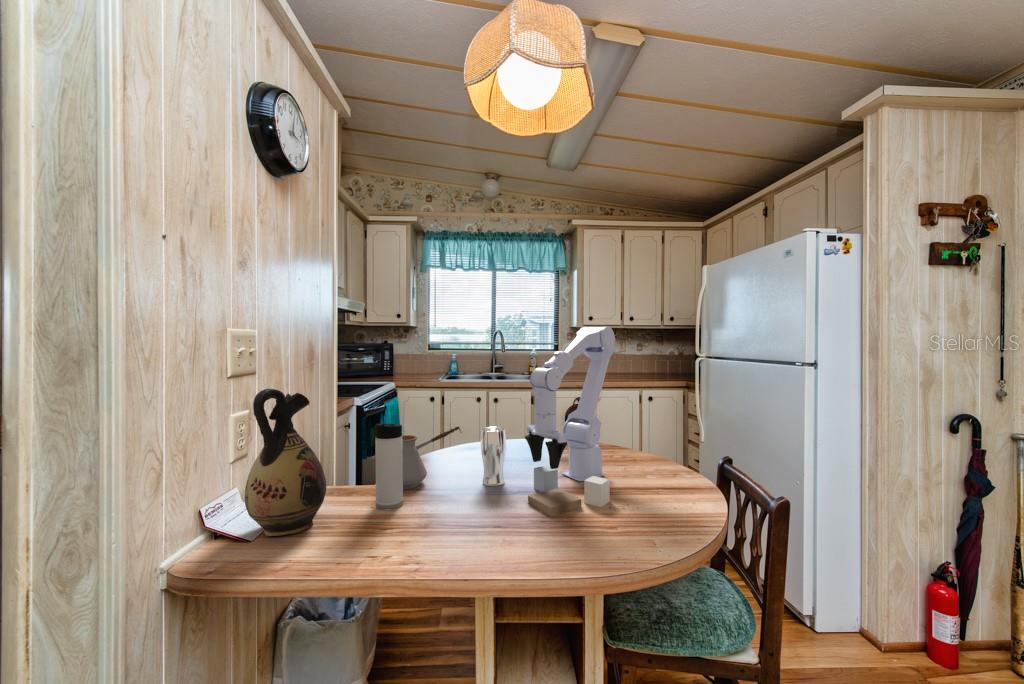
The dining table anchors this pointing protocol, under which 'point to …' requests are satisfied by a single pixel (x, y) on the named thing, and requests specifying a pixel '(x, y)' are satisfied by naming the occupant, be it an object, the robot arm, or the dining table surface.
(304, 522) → the ceramic jug
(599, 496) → the cream block
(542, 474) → the slate block
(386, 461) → the travel mug
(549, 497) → the brown block
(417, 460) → the coffee pot
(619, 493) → the dining table surface
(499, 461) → the beer glass
